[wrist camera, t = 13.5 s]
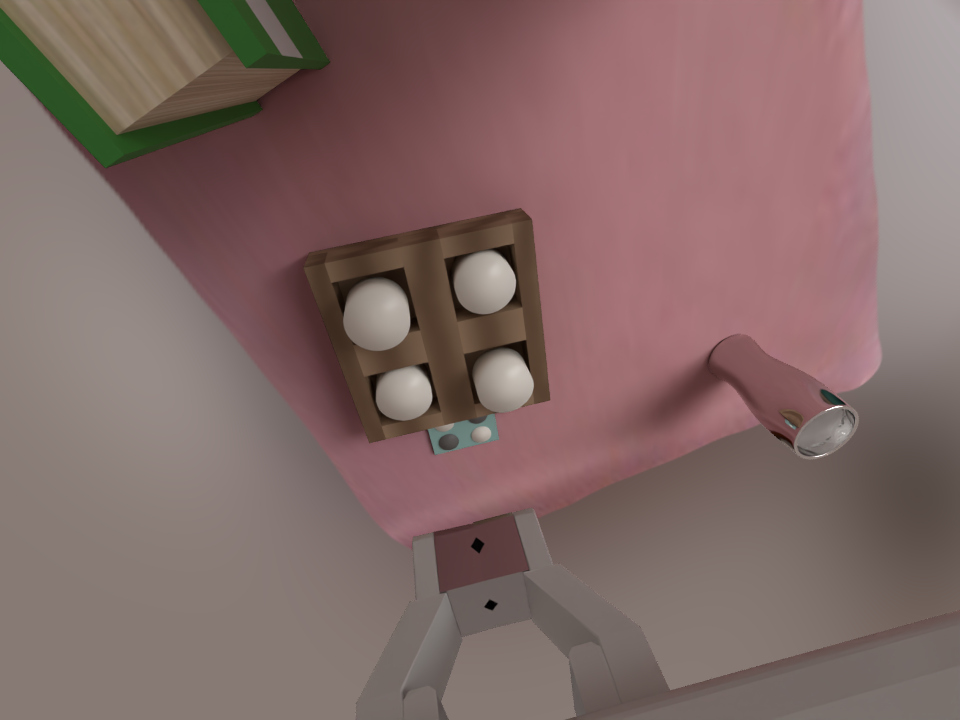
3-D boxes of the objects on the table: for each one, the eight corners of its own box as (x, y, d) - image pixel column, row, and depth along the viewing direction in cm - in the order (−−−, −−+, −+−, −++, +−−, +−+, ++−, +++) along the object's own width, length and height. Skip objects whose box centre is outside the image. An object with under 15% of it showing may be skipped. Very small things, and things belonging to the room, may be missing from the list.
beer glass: (697, 380, 60) (781, 462, 47) (716, 330, 57) (812, 405, 44) (745, 379, 61) (840, 459, 49) (767, 330, 58) (874, 403, 45)
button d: (423, 352, 50) (425, 369, 47) (434, 394, 53) (437, 413, 50) (369, 364, 50) (369, 382, 47) (384, 406, 53) (384, 425, 50)
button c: (522, 342, 49) (530, 359, 46) (527, 386, 52) (536, 405, 49) (467, 354, 48) (473, 372, 45) (476, 398, 51) (482, 418, 48)
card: (491, 398, 56) (492, 401, 56) (498, 437, 59) (499, 440, 59) (423, 414, 56) (424, 417, 55) (434, 452, 59) (435, 455, 58)
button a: (503, 239, 45) (511, 250, 43) (511, 292, 48) (519, 307, 46) (445, 251, 45) (449, 263, 42) (456, 305, 48) (461, 320, 45)
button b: (400, 270, 43) (401, 285, 40) (414, 325, 46) (416, 342, 43) (337, 284, 42) (334, 299, 40) (356, 338, 45) (354, 357, 42)
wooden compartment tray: (520, 208, 45) (531, 219, 42) (540, 380, 56) (550, 400, 53) (309, 252, 44) (303, 267, 41) (370, 420, 55) (369, 443, 51)
